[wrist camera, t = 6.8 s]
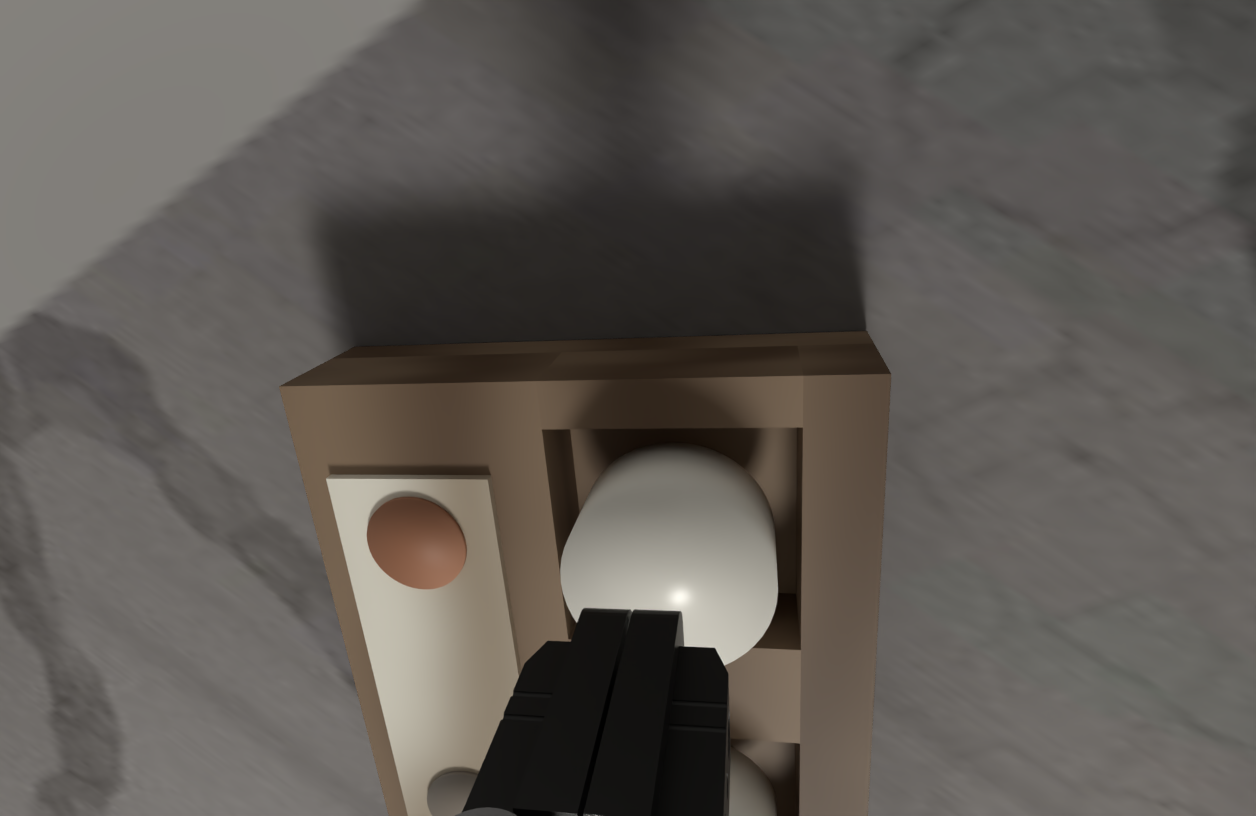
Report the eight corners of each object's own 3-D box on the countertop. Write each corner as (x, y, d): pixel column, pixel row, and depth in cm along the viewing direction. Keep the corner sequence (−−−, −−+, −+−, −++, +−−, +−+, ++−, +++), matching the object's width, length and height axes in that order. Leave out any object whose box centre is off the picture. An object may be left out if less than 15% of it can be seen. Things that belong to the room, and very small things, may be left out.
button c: (774, 441, 14) (777, 488, 12) (775, 614, 15) (778, 679, 13) (575, 442, 15) (549, 486, 13) (592, 607, 16) (571, 668, 14)
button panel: (866, 330, 15) (893, 380, 12) (839, 1001, 23) (852, 1134, 20) (354, 346, 18) (269, 391, 14) (484, 954, 25) (446, 1068, 22)
